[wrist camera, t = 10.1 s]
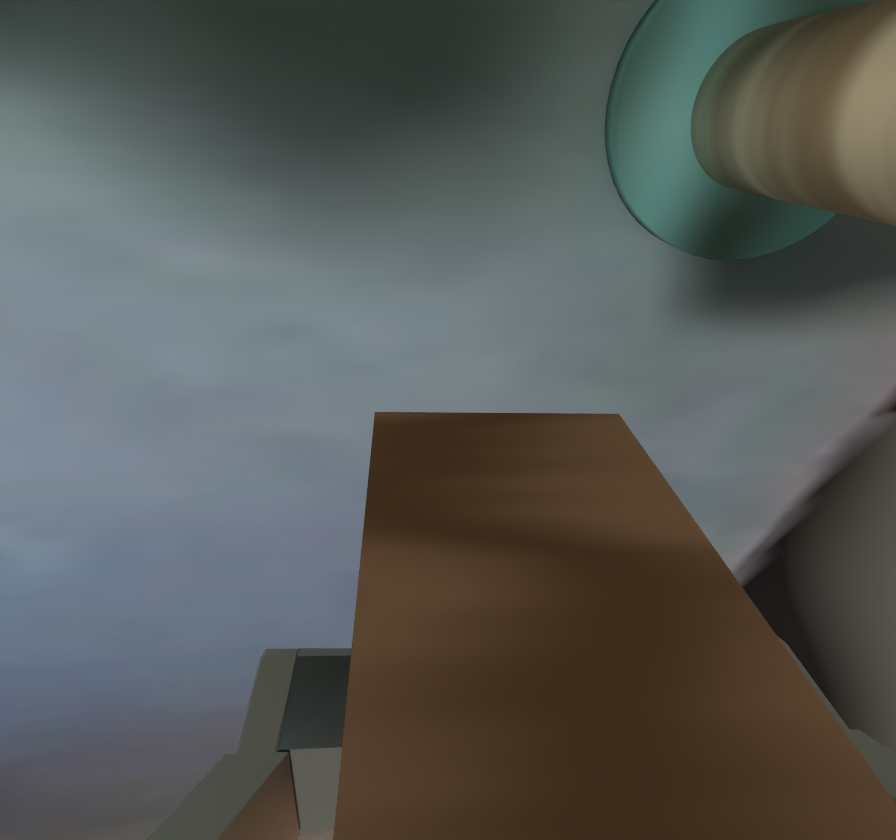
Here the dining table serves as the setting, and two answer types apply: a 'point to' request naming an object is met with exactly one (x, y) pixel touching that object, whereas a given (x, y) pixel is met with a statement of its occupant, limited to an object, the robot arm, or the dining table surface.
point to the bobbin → (755, 121)
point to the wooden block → (570, 655)
